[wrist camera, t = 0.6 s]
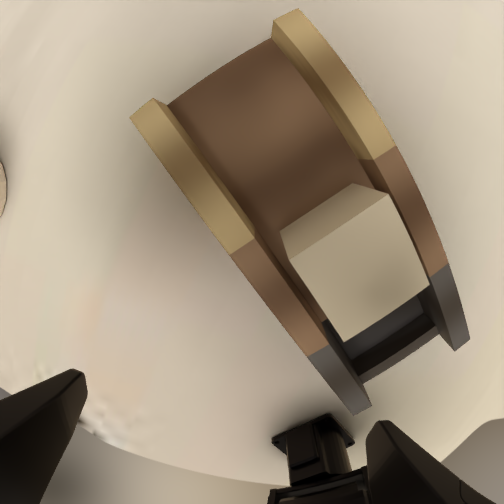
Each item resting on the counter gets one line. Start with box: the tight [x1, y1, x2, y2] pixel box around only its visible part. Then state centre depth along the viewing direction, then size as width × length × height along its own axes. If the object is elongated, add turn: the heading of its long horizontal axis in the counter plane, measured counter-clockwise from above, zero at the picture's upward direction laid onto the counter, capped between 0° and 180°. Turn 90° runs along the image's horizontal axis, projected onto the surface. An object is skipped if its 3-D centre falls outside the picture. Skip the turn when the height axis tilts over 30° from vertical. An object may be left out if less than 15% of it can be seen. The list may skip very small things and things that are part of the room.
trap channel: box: [129, 8, 470, 416], centre depth 17 cm, size 23×10×5 cm, turn 35°
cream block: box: [280, 183, 430, 342], centre depth 15 cm, size 5×5×5 cm
